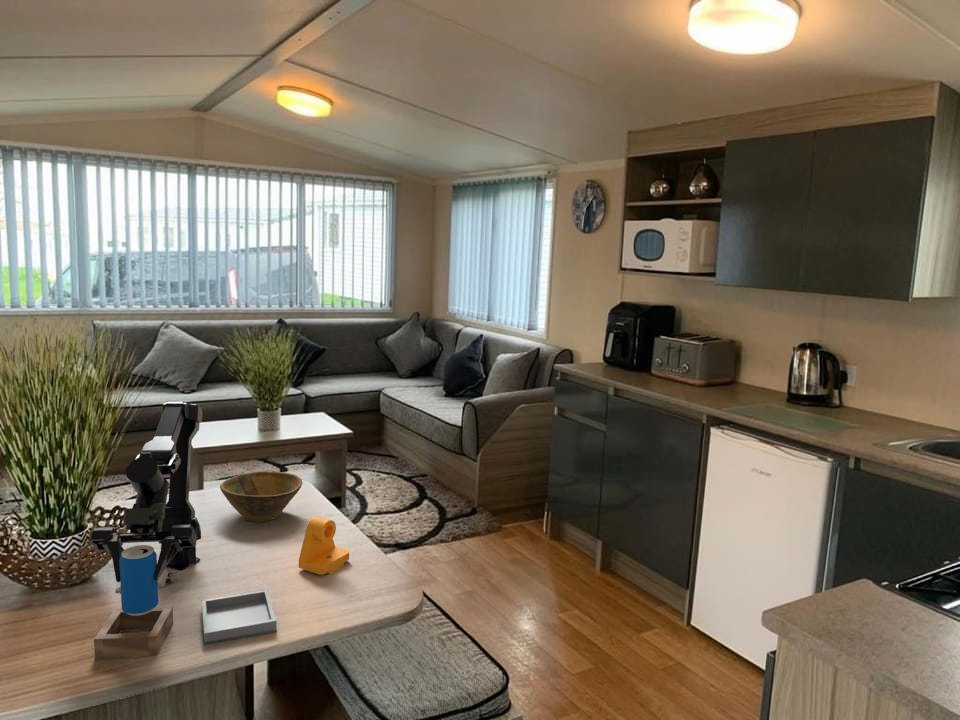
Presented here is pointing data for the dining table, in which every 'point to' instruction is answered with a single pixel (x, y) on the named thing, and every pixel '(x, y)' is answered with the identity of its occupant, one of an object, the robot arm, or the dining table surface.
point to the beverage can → (138, 580)
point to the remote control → (161, 580)
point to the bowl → (261, 493)
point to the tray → (237, 617)
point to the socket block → (133, 634)
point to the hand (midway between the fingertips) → (137, 580)
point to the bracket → (321, 548)
